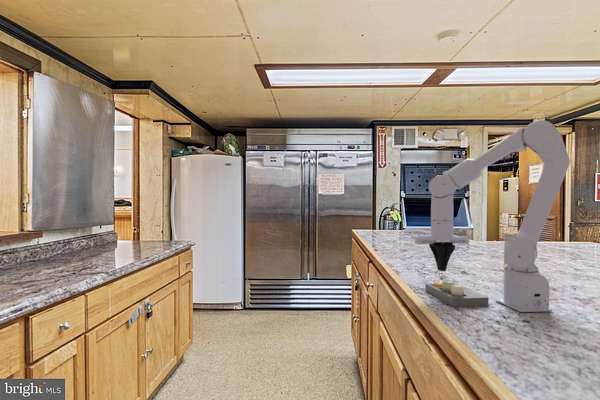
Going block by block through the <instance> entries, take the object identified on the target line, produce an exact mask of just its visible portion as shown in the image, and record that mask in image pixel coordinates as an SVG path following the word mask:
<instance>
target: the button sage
mask: <svg viewBox="0 0 600 400" xmlns="http://www.w3.org/2000/svg"><path fill="white" fill-rule="evenodd" d="M455 283H456V282H454V281H450V280H443V281H442V290H443V291H445V292H451V285H455Z"/></svg>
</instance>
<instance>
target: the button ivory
mask: <svg viewBox="0 0 600 400" xmlns="http://www.w3.org/2000/svg"><path fill="white" fill-rule="evenodd" d="M460 285H461V284H459V285H451V295H453V296H464V287H465V286H464V285H461V286H460Z"/></svg>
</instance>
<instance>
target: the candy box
mask: <svg viewBox="0 0 600 400" xmlns="http://www.w3.org/2000/svg"><path fill="white" fill-rule="evenodd" d="M517 233H518V231H511V232H505V233H504V243H503V244H504V248H503V249H504V251H503V254H504V253H505V250H506V248H507V247H508V246H510V245H511V244H512V243H513V242H514V240H515V237H516V235H517ZM504 265H507V263H506V261H505V258H504V257H503V266H504Z"/></svg>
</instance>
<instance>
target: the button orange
mask: <svg viewBox="0 0 600 400" xmlns="http://www.w3.org/2000/svg"><path fill="white" fill-rule="evenodd" d="M433 284H434V286H435V287H437V288H439V287H442V282H441V281H439V282H438V281H436V282H433Z"/></svg>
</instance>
